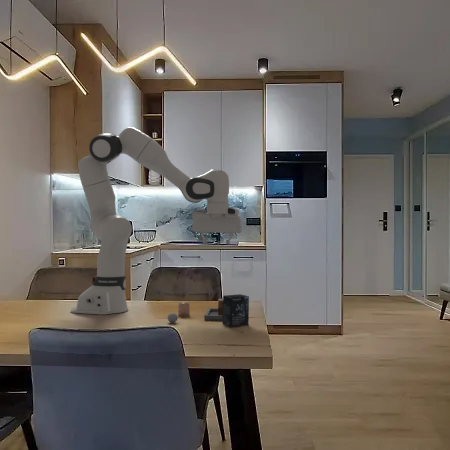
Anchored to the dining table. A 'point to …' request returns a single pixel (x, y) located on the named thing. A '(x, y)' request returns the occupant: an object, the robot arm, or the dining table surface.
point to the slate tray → (213, 315)
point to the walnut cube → (220, 307)
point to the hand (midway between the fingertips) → (216, 243)
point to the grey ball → (172, 317)
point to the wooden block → (183, 309)
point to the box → (235, 310)
